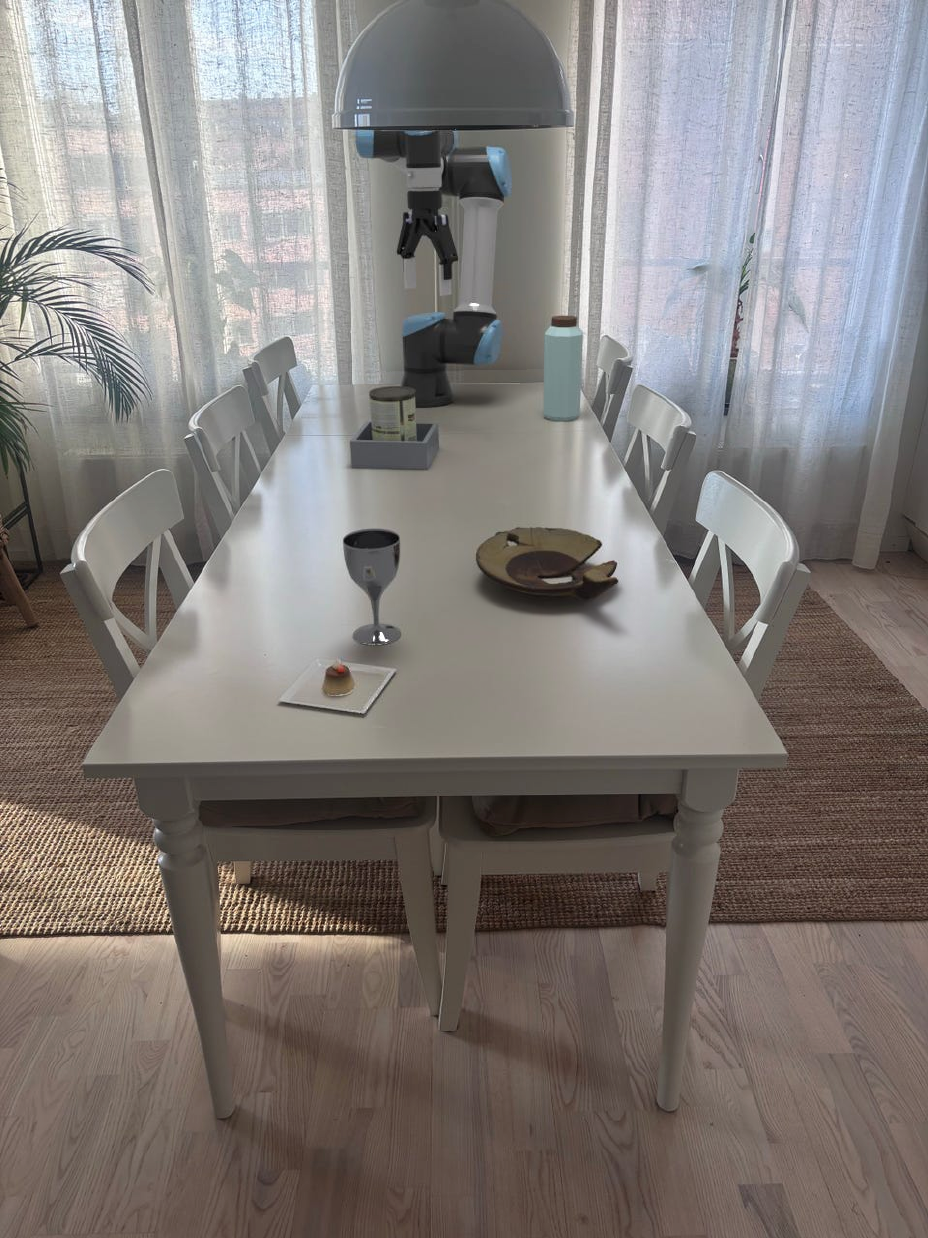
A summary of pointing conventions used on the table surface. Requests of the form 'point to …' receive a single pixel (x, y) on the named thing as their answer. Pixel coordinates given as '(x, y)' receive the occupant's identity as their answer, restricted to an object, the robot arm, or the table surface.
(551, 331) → the water bottle
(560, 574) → the brown shallow dish
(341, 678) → the dessert
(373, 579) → the wine glass
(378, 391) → the coffee can
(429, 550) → the table surface
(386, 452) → the bin
